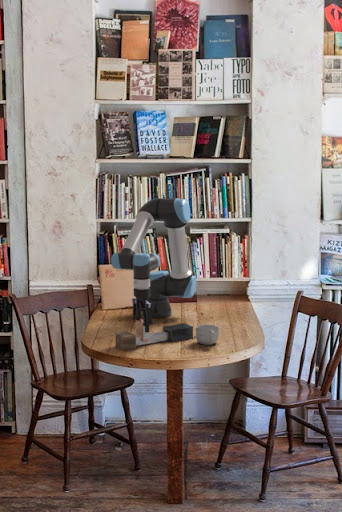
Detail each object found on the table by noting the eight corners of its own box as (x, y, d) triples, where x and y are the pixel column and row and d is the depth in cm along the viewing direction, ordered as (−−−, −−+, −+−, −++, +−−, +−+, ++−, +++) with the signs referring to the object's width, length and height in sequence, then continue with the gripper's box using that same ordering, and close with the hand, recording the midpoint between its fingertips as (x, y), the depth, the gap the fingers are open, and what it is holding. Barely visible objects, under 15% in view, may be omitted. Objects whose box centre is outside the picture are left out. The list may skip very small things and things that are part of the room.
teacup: (194, 340, 344) (194, 323, 343) (217, 339, 345) (217, 323, 344) (197, 348, 331) (198, 331, 329) (222, 348, 332) (222, 330, 330)
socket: (115, 346, 335) (115, 333, 334) (127, 344, 338) (126, 331, 337) (124, 350, 328) (124, 337, 327) (135, 348, 331) (135, 335, 330)
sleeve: (162, 338, 348) (162, 326, 347) (183, 334, 354) (183, 323, 354) (171, 342, 342) (171, 330, 341) (192, 338, 348) (192, 326, 347)
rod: (127, 344, 337) (127, 321, 335) (179, 335, 352) (179, 313, 350) (134, 347, 332) (134, 324, 330) (186, 337, 347) (186, 315, 345)
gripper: (124, 285, 339) (124, 333, 343) (145, 292, 323) (146, 343, 327) (138, 283, 343) (138, 331, 347) (160, 290, 327) (160, 340, 331)
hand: (142, 337), depth 337 cm, fingers closed on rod, 6 cm apart
